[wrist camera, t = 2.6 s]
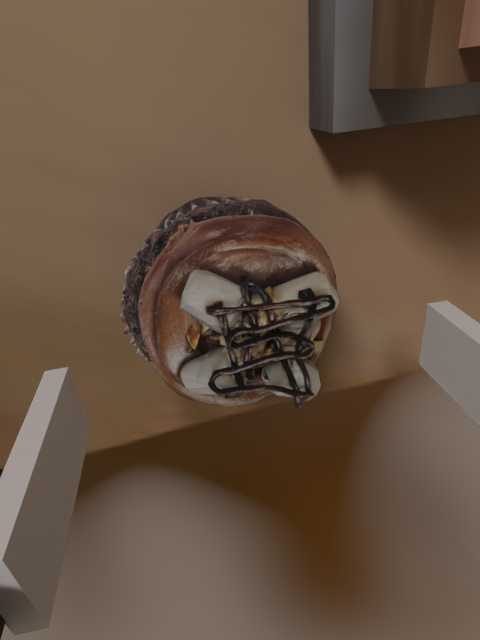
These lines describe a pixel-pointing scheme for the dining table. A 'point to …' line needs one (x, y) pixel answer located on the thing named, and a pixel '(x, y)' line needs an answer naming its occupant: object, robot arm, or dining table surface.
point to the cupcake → (231, 302)
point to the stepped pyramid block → (392, 62)
